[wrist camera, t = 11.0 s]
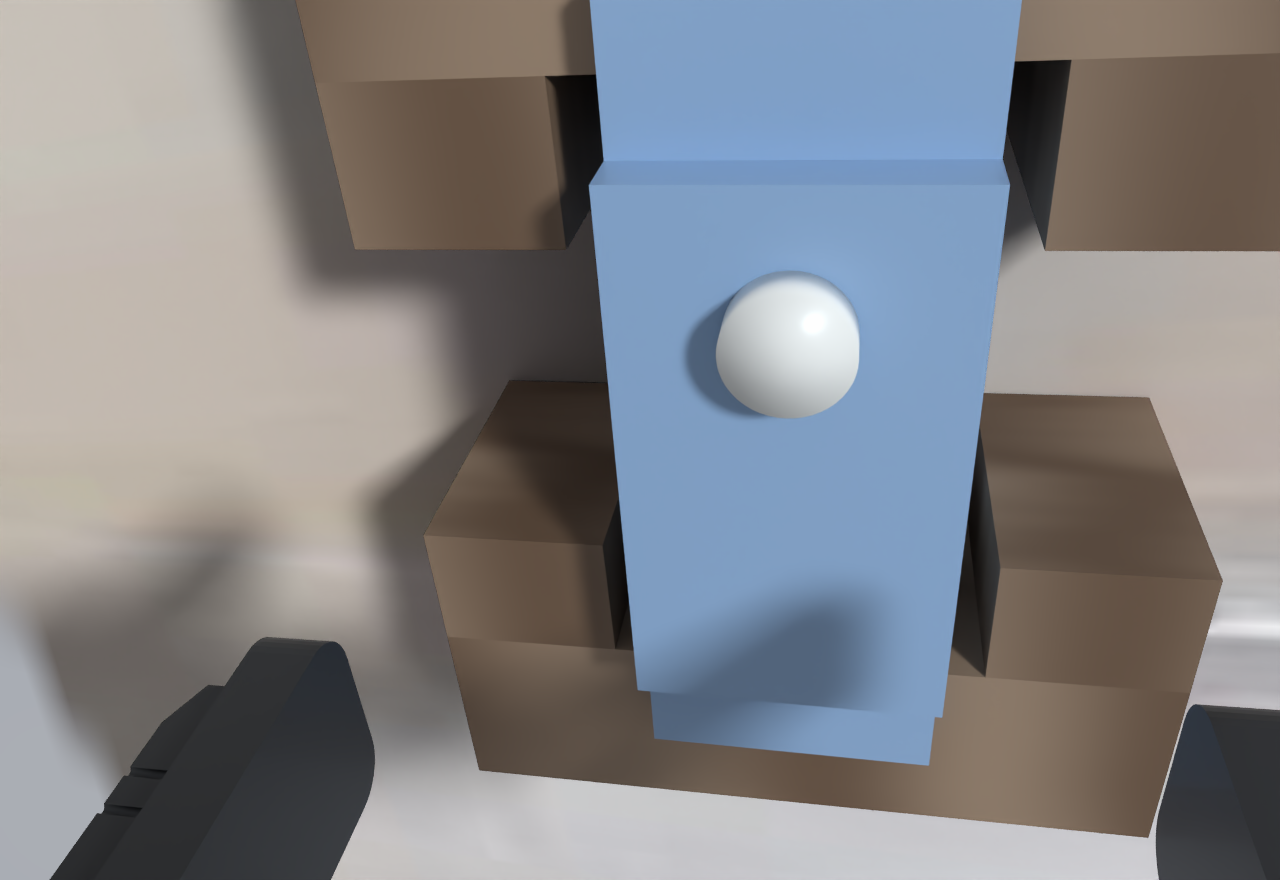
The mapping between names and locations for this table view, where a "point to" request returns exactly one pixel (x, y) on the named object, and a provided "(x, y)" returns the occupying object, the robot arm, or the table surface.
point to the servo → (798, 351)
